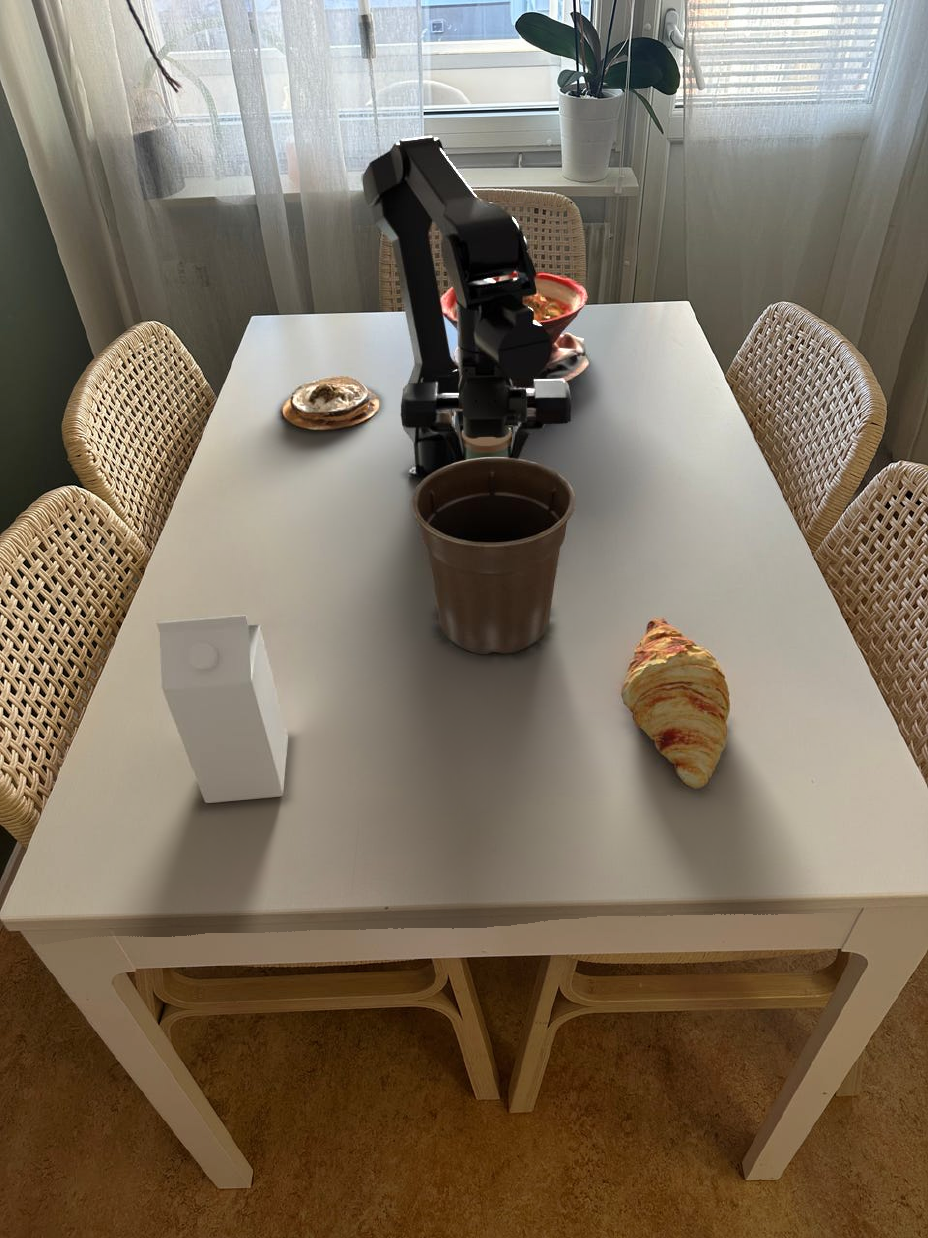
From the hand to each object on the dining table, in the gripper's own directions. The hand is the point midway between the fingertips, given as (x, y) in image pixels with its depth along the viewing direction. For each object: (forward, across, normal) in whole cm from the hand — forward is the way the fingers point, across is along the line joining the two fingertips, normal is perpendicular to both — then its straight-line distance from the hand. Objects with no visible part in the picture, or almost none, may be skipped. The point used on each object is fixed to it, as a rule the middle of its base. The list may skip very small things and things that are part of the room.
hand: (487, 468), depth 103 cm
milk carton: (+10, -23, -37) cm, 45 cm away
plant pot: (+10, +1, -16) cm, 19 cm away
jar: (+1, 0, 0) cm, 1 cm away
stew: (+10, +5, +48) cm, 49 cm away
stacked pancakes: (+10, -24, +35) cm, 44 cm away
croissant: (+10, +18, -30) cm, 37 cm away
